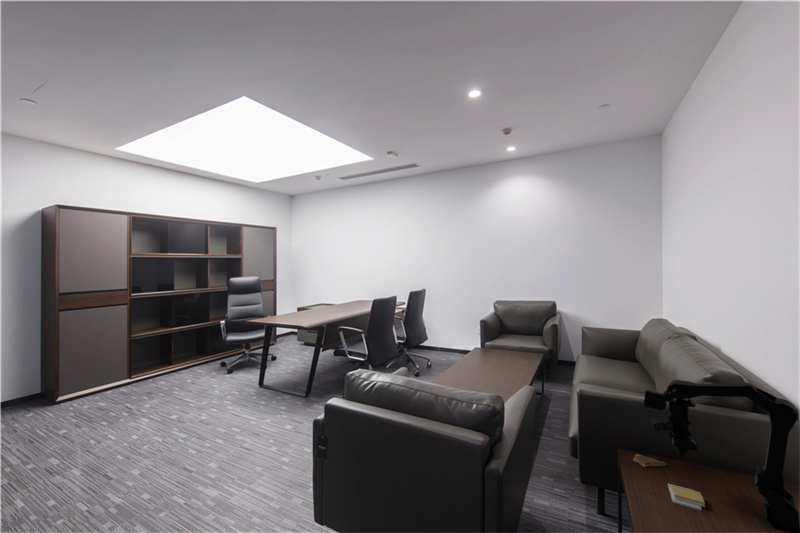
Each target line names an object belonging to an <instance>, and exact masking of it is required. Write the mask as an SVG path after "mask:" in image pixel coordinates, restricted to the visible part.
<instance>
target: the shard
mask: <svg viewBox="0 0 800 533" xmlns="http://www.w3.org/2000/svg"><path fill="white" fill-rule="evenodd" d="M632 461H633V462H634V463H637V464H639V465H640V466H643V467H644V468H646V467H665V466H667V465H668V462H664V461H660V460H657V459H655V458H652V457H649V456H645V455H641V454H638V453H637V454H634V457H633V458H632Z"/></svg>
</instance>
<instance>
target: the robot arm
mask: <svg viewBox="0 0 800 533" xmlns="http://www.w3.org/2000/svg"><path fill="white" fill-rule="evenodd" d="M644 392H645V394H644V400H643V405H644V406H643V407H644V408H647V409H650V410H654V411H659V412H664V411H665V410H666V411H667V410H669V411H668V412H669V413H668V414H667V416H666V417H659V418H652V419H650V422H651V425H652V427H653V430H654V432H656V433H661V432H668V435H669V437H670V440H671V442H672V445H673V447H675V448H676V450H677V454H678V457H679V458H684V457H685V455H686V454H687V452H688V451H693V452H697V451H698V448H697V443H696V441H695V440H693V438H692V431H691V425H692V422H691V420H690V408H696V405H697V403H695V401H693V400H692V399H693V398H696V397H697V398H698V397H723V398H724V397H725V398H726V397H729V398H735V397H736V398H747V399H749V400H750V401H752V402H753V403H754V404H756V405H758V406H759V407H760V408H762V409H763V410H765V411H766V412H768V414H769V421H770V422H769V423H770V430H769V435H768V440H767V441H768V443H767V448H766V449H767V450H766V457H765V463H764V466H763V467H762V468H761V467H759V466H756V473H755V475H754V486H755V487H757V491H758V493H759V494H760V495H761V496H762V497H763V498H765V499H764V501H765V502H764V503H763V504H762V509H763V517H764V518H765V519H766V521H767V522H768V523H769V525H770V526H771V527H772V528H774V529H778V530H782V531H785V532H788V533H800V517H799V516H800V515H799V513H800V512H799V511H798V509H797V506H796V505H797V504H796V501H795V497H794V495H792V494H791V492H789V491H788V490H787V489H786V488H785V482H784V475H783V473H784V469H785V468H784V467H785V463H786V462H785V461H786V454H787V453H786V452H787V447H788V442H789V436H790V435H789V434H790V432H791V431H792V430H793V428H794V427H795V424H796V422H797V420H798V418H799V417H798V413H797V410H796V407H795V405H794V404H793V403H792V402H790V401H789V400H788V399H787V400H786V399H785V398H780V397H779V398H778V397H777V396H775V395H773V394H771V393H769V392H767V391H765V390H763V389H761V388H758V387H756V386H755V385H753V384H752V383H750V382H742V383H698V382H693V381H689V380H688V381H687V380H682V379H681V380H680V379H673V380H671V382H669V383H668V385H667V389H666V390H664V391H663V393H661V392H656V391H653V390H649V389H646V390H645V391H644Z"/></svg>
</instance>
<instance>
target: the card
mask: <svg viewBox="0 0 800 533" xmlns="http://www.w3.org/2000/svg"><path fill="white" fill-rule="evenodd" d="M674 485H675V484H672V485H671V489H672V492H673V496H674V499H676V500H680V501H684V502H687V503H691V504H695V505H698V506H701V508H702V507H703V508H706V503H705V500H704V497H703V496H702V493H701V492H700V491H696V490H694V489H691V490H689V489H690V488H687V489H685V488H686V487H683V486H679V485H675V486H674ZM678 486H679V487H678ZM682 487H683V488H682ZM693 490H694V491H693Z"/></svg>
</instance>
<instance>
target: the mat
mask: <svg viewBox="0 0 800 533" xmlns="http://www.w3.org/2000/svg"><path fill="white" fill-rule="evenodd" d="M671 485H674V486H676V485H675V484H671V483H667V487H668V490H669V494H670V497H671V501H672V503H673V504H676V505H680V506H683V507H686V508H689V509H690V508H691V509H694V510H697V511H700V512H702V510H703V509H702V506H698V505H695V504H691V503H687V502H684V501H680V500H676V499H674V496H673V492H672V489H671ZM677 486H678V487H680V486H679V485H677ZM681 487H682V488H685V489H689V490H693V491H695V490H694V489H691V488H686V487H683V486H681Z"/></svg>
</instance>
